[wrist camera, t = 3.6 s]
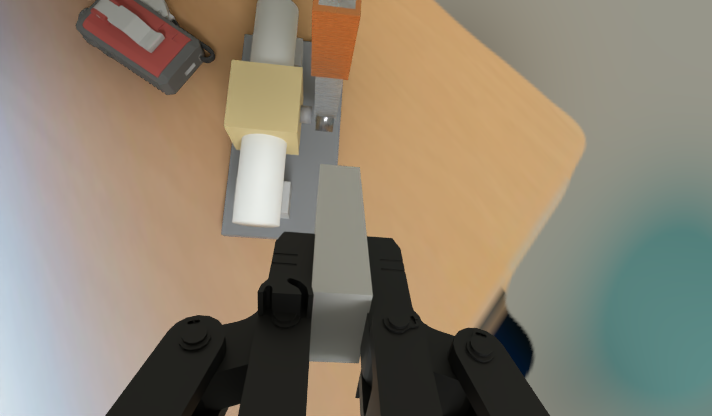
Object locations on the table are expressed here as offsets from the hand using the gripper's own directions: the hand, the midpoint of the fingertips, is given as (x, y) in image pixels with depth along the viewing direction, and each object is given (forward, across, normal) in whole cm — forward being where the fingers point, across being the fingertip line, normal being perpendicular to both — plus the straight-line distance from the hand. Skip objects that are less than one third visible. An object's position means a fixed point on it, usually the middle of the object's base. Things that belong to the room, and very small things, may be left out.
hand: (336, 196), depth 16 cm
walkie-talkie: (+36, -22, -3) cm, 43 cm away
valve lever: (+24, -1, -7) cm, 25 cm away
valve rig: (+28, -4, -11) cm, 30 cm away
